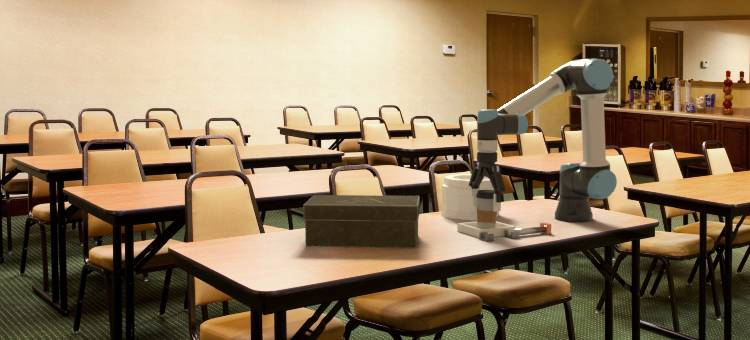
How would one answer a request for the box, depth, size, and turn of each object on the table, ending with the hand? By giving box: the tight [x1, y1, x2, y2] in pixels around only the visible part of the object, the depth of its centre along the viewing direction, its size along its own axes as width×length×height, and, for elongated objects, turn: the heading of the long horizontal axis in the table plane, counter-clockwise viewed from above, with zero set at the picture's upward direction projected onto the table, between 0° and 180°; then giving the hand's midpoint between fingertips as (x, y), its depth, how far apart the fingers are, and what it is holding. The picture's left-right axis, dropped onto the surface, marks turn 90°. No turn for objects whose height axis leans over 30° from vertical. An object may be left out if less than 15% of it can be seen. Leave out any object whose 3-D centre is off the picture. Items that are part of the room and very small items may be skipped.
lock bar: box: [506, 222, 552, 238], centre depth 290 cm, size 18×4×4 cm, turn 117°
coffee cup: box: [476, 190, 497, 229], centre depth 294 cm, size 8×8×15 cm
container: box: [440, 173, 500, 221], centre depth 333 cm, size 25×24×16 cm
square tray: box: [456, 220, 517, 239], centre depth 295 cm, size 15×15×3 cm
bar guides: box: [478, 229, 520, 242], centre depth 284 cm, size 14×5×2 cm, turn 117°
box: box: [302, 194, 421, 249], centre depth 280 cm, size 22×39×15 cm, turn 85°
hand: (486, 208), depth 294 cm, fingers open, 13 cm apart
